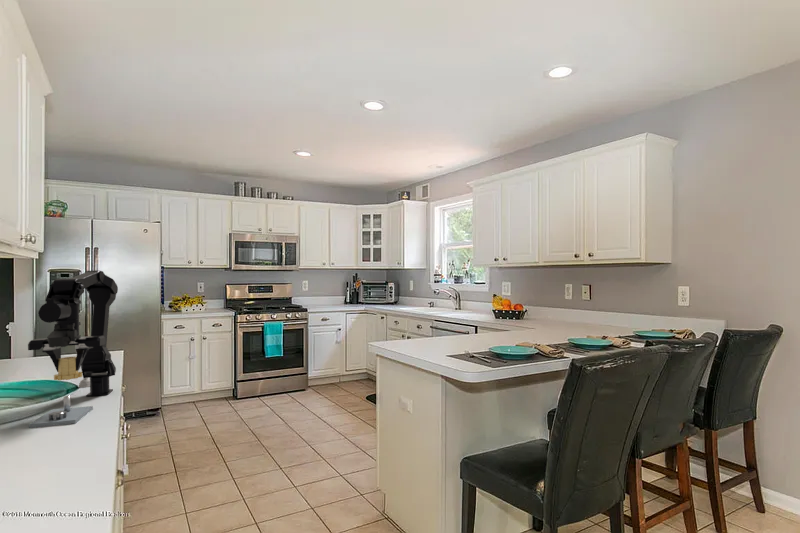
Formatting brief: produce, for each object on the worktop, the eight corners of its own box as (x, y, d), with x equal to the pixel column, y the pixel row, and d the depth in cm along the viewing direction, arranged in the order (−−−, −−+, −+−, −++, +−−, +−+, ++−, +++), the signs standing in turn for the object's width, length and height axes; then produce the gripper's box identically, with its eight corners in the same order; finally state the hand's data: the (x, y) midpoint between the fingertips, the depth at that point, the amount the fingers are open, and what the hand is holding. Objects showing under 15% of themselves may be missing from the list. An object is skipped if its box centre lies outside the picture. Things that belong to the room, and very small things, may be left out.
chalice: (101, 383, 180) (100, 336, 180) (88, 388, 173) (87, 339, 173) (83, 383, 180) (82, 336, 180) (69, 388, 174) (68, 339, 174)
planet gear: (59, 376, 146) (59, 356, 146) (86, 374, 148) (85, 355, 148) (49, 381, 139) (49, 360, 139) (77, 379, 141) (77, 358, 141)
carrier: (51, 412, 144) (51, 394, 144) (92, 409, 147) (92, 391, 147) (29, 427, 130) (29, 407, 130) (75, 423, 133) (75, 403, 133)
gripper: (18, 323, 134) (18, 379, 133) (93, 320, 139) (93, 373, 138) (36, 320, 145) (37, 371, 144) (105, 317, 150) (106, 367, 149)
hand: (68, 371), depth 144 cm, fingers closed on planet gear, 5 cm apart
